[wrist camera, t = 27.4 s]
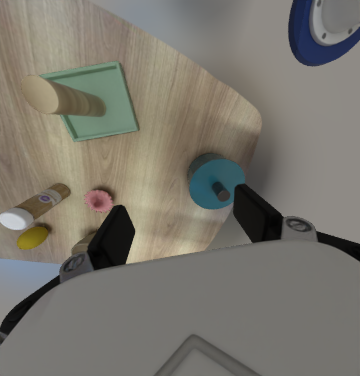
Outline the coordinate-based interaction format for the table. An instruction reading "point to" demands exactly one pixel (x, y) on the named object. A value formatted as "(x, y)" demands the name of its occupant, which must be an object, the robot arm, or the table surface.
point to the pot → (201, 163)
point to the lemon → (32, 238)
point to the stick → (60, 98)
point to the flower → (98, 200)
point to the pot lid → (215, 183)
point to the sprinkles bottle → (33, 207)
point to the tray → (106, 90)
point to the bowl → (82, 244)
